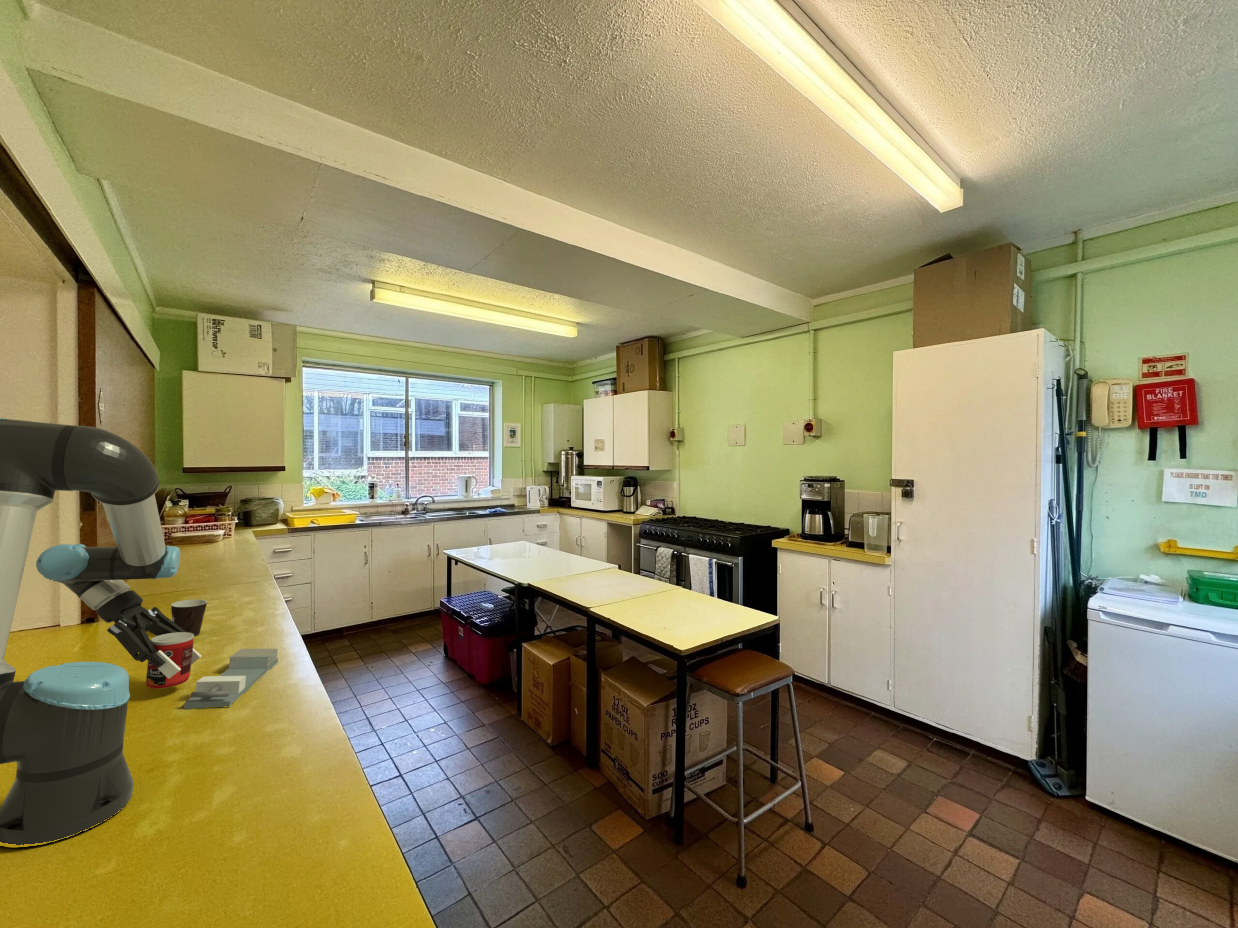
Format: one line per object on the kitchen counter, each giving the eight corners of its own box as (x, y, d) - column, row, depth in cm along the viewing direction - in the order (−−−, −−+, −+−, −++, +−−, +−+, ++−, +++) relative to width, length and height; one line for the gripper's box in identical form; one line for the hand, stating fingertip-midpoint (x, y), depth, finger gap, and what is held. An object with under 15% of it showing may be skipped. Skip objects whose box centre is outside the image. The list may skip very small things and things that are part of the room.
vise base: (228, 707, 115) (230, 688, 115) (183, 708, 113) (185, 689, 113) (277, 663, 140) (279, 647, 140) (241, 663, 138) (243, 647, 138)
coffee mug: (174, 630, 157) (177, 599, 157) (208, 629, 160) (211, 598, 161) (158, 643, 146) (162, 610, 146) (195, 641, 150) (198, 609, 150)
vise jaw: (267, 667, 133) (268, 656, 133) (228, 668, 131) (229, 656, 131) (276, 659, 139) (277, 648, 139) (240, 659, 137) (241, 648, 137)
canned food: (139, 683, 117) (144, 637, 118) (181, 673, 125) (185, 629, 125) (153, 692, 114) (158, 644, 114) (195, 680, 121) (200, 636, 121)
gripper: (130, 599, 126) (197, 661, 129) (61, 624, 106) (142, 697, 109) (157, 579, 128) (222, 641, 131) (93, 600, 108) (172, 672, 111)
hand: (186, 666), depth 120 cm, fingers closed on canned food, 8 cm apart
